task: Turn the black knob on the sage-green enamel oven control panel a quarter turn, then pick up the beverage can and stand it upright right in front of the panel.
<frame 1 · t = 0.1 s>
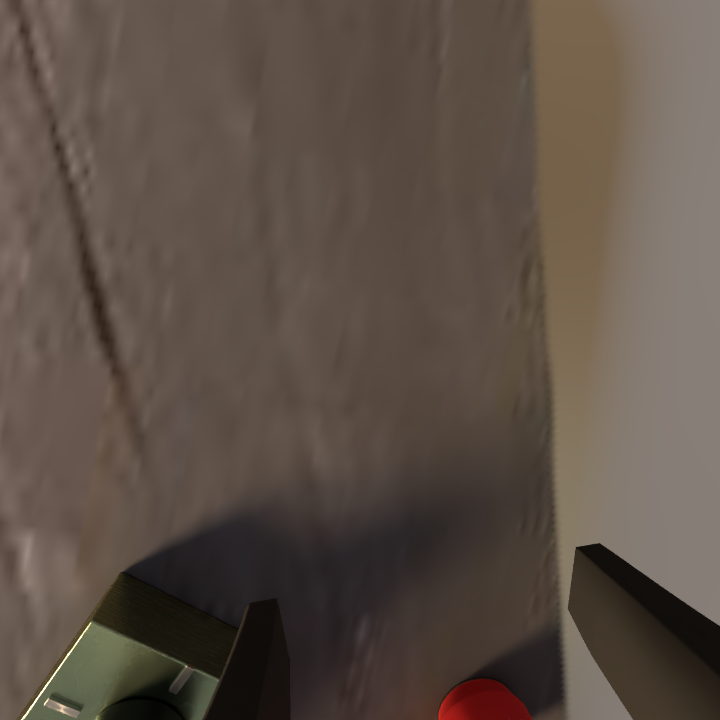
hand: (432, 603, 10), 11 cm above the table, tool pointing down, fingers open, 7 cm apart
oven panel: (150, 688, 22), on the table
beverage can: (474, 707, 25), on the table
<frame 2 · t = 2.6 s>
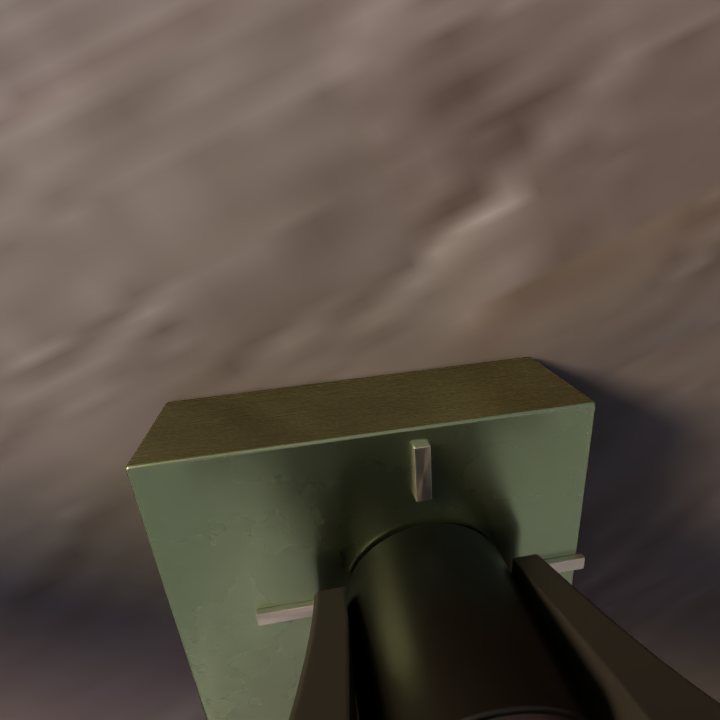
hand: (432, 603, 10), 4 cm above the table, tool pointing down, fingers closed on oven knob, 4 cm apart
oven knob: (454, 676, 9), point 5 cm above the table, hinge at 0.0°, touching gripper
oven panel: (367, 510, 14), on the table
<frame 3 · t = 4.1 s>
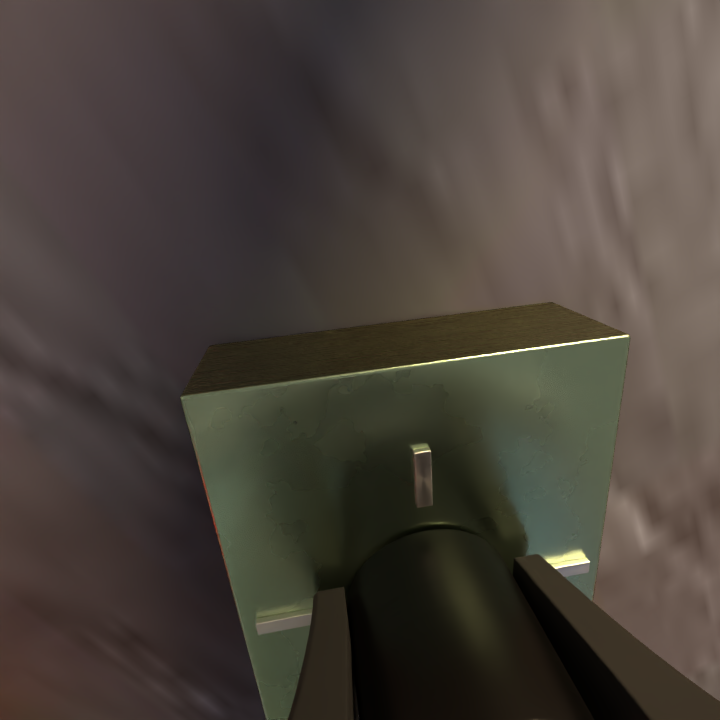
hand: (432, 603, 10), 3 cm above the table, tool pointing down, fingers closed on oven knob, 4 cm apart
oven knob: (458, 686, 9), point 5 cm above the table, hinge at 89.2°, touching gripper
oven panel: (398, 482, 13), on the table
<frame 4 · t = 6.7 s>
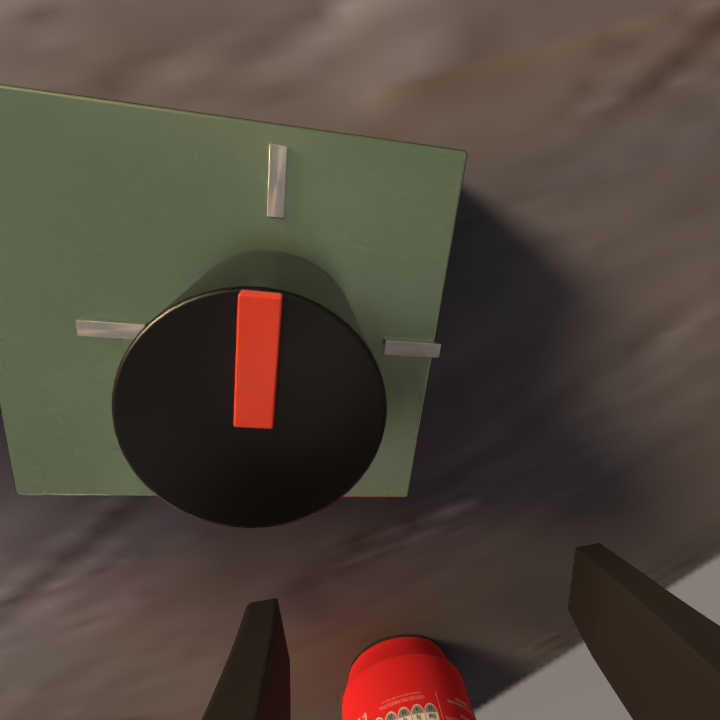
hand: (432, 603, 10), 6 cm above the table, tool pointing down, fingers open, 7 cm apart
oven knob: (263, 374, 8), point 5 cm above the table, hinge at 89.0°
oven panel: (241, 305, 13), on the table
beverage can: (396, 666, 20), on the table
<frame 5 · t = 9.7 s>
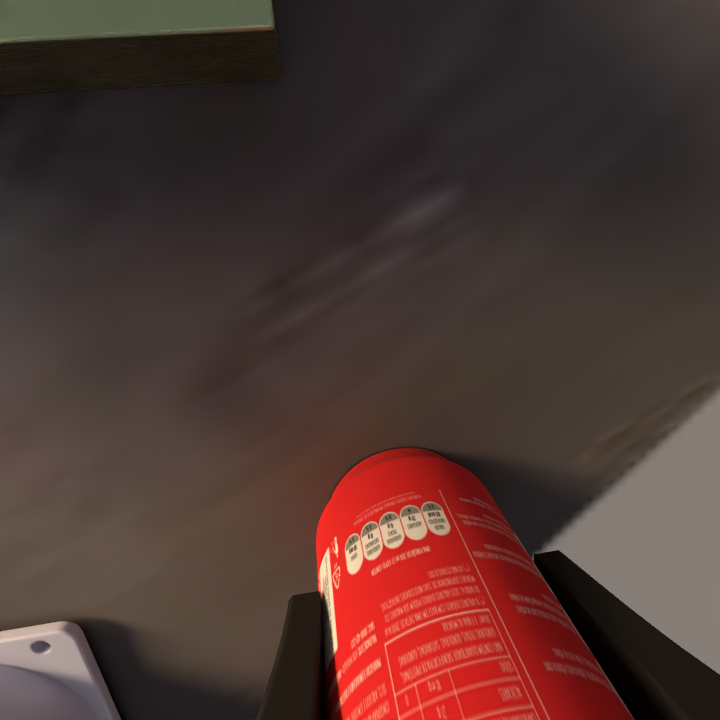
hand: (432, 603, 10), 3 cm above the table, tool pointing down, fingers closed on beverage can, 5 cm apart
beverage can: (397, 504, 14), on the table, touching gripper
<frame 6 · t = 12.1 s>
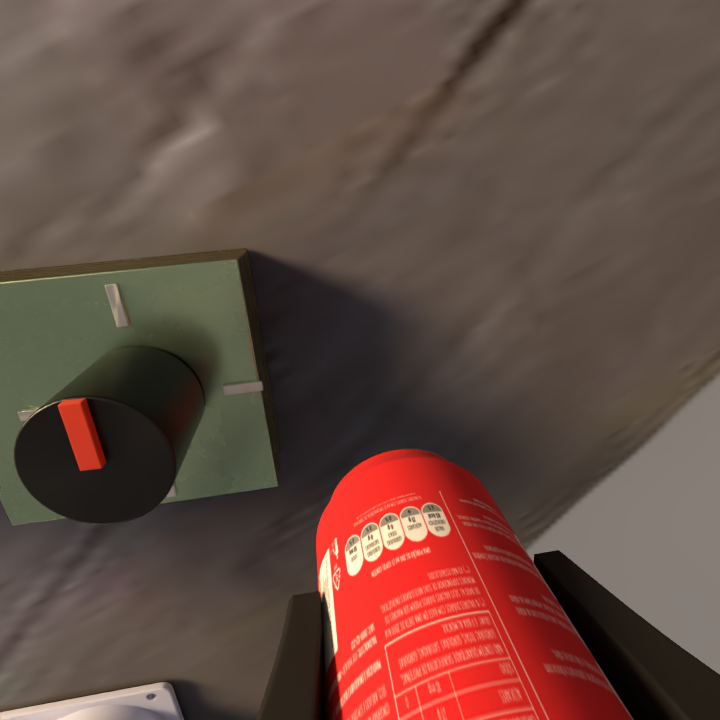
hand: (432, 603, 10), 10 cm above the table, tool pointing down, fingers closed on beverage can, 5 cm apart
oven knob: (122, 430, 13), point 5 cm above the table, hinge at 89.0°
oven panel: (143, 370, 18), on the table
beverage can: (397, 505, 14), point 7 cm above the table, touching gripper
when the fingers open (3 cm above the table, at t = 14.5 s): beverage can stays where it is, on the table.
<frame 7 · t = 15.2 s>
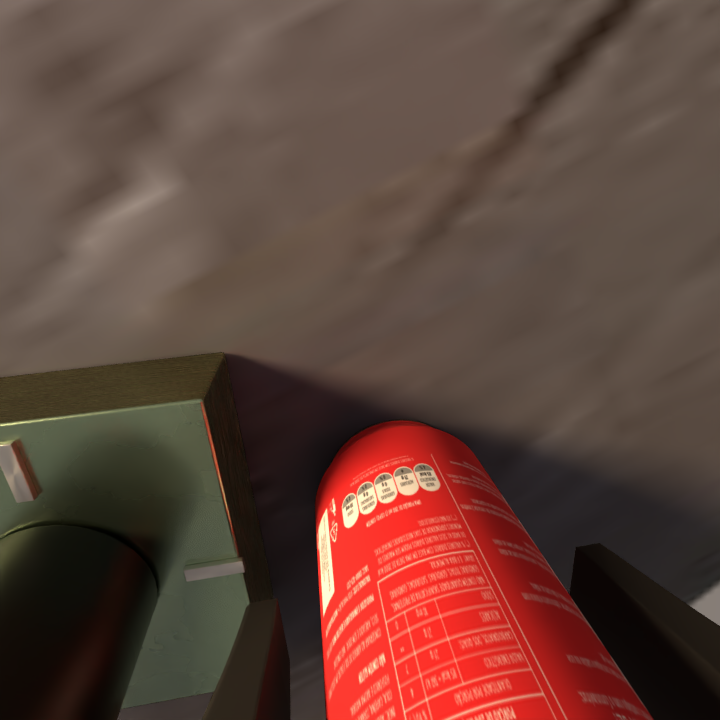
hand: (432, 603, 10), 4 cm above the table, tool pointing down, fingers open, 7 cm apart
oven knob: (14, 686, 8), point 5 cm above the table, hinge at 89.0°
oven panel: (83, 511, 13), on the table
beverage can: (393, 475, 14), on the table
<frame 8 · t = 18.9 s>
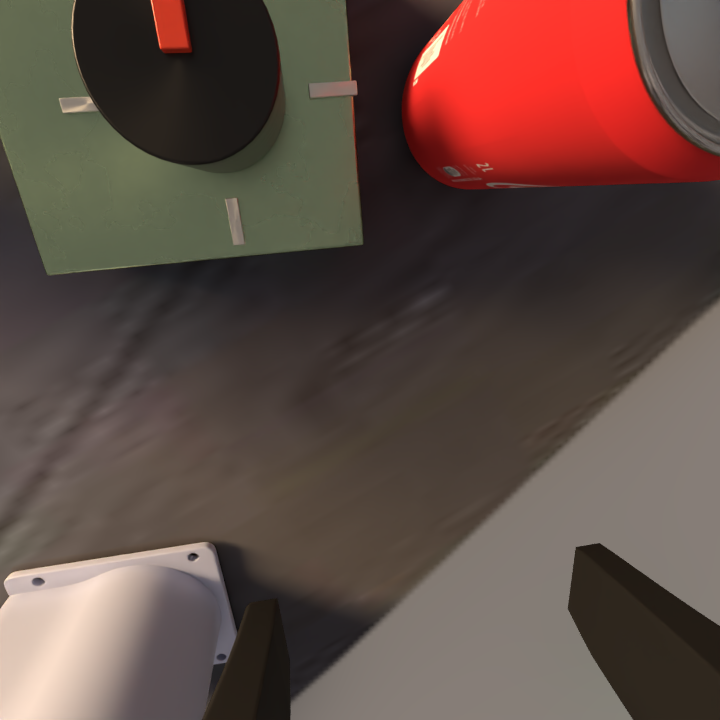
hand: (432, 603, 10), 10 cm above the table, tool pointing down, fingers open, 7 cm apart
oven knob: (198, 78, 10), point 5 cm above the table, hinge at 89.0°
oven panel: (200, 117, 15), on the table
beverage can: (461, 115, 16), on the table
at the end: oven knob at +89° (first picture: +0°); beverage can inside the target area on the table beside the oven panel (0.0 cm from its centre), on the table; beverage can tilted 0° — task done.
